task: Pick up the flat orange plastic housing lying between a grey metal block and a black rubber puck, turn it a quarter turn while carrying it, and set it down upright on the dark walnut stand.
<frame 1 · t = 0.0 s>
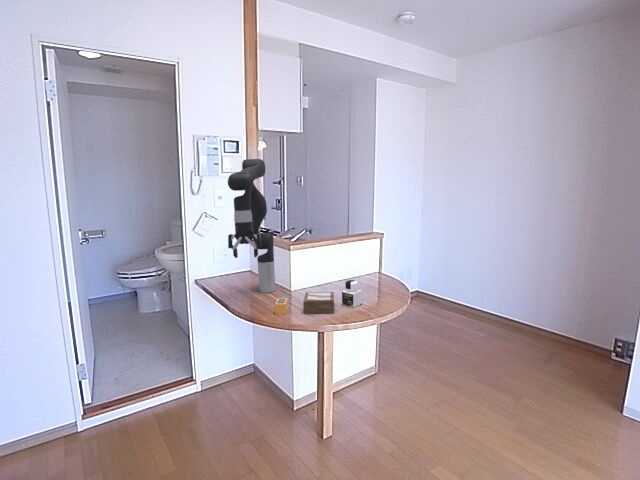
hand: (245, 257, 165), 29 cm above the breakfast counter, tool pointing down, fingers open, 8 cm apart
black rubber puck: (312, 301, 194), on the breakfast counter
housing: (282, 311, 181), on the breakfast counter
grey metal block: (285, 302, 193), on the breakfast counter
medicine bottle: (352, 304, 186), on the breakfast counter
stand: (319, 308, 182), on the breakfast counter
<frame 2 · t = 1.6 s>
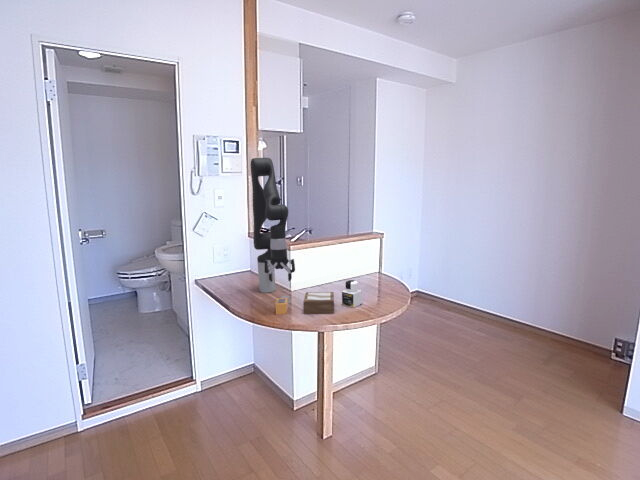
hand: (280, 281, 178), 15 cm above the breakfast counter, tool pointing down, fingers open, 8 cm apart
nothing on the breakfast counter moved.
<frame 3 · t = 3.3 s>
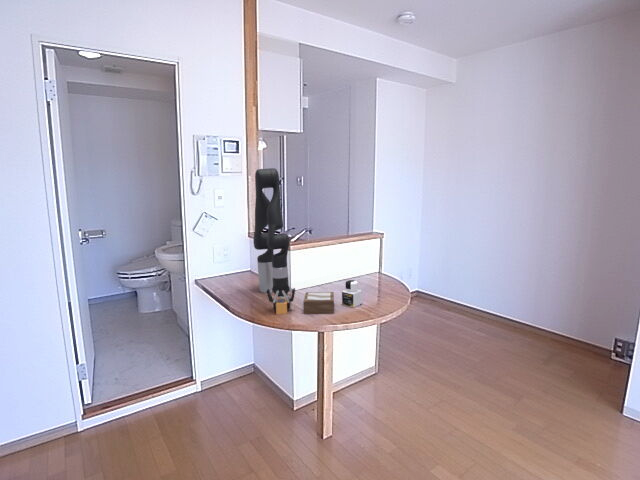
hand: (282, 309, 181), 1 cm above the breakfast counter, tool pointing down, fingers closed on housing, 5 cm apart
housing: (282, 310, 181), on the breakfast counter, touching gripper
everything else where it was.
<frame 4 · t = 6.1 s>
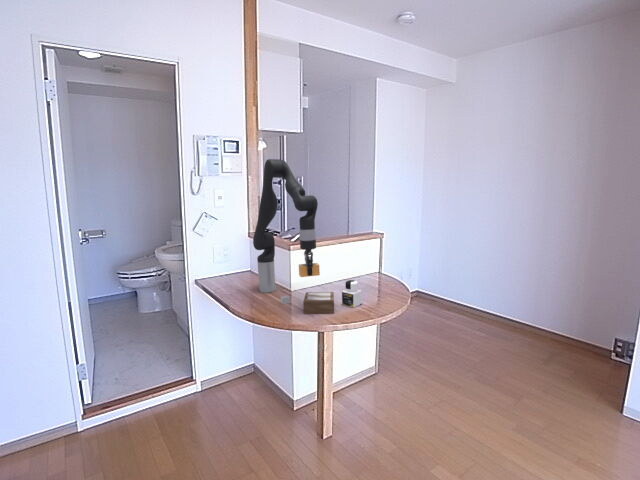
hand: (309, 273, 178), 18 cm above the breakfast counter, tool pointing down, fingers closed on housing, 5 cm apart
housing: (309, 275, 178), point 17 cm above the breakfast counter, touching gripper
everything else where it was.
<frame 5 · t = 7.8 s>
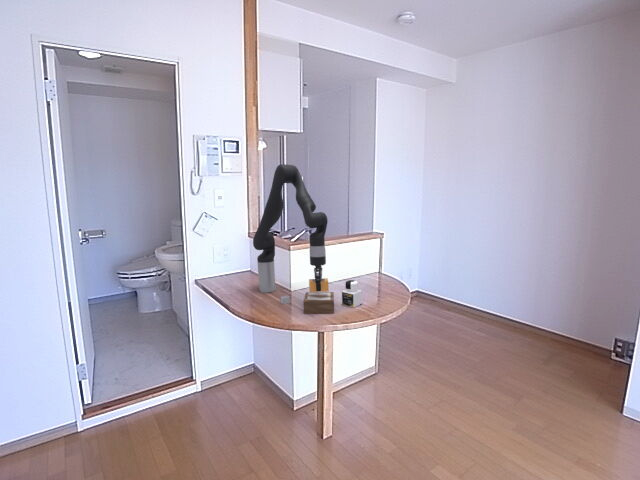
hand: (318, 289, 180), 10 cm above the breakfast counter, tool pointing down, fingers closed on housing, 5 cm apart
housing: (318, 290, 180), point 9 cm above the breakfast counter, touching gripper
everything else where it was.
when the fingers open (8 cm above the breakfast counter, at t = 9.1 s): housing stays where it is, resting on stand.
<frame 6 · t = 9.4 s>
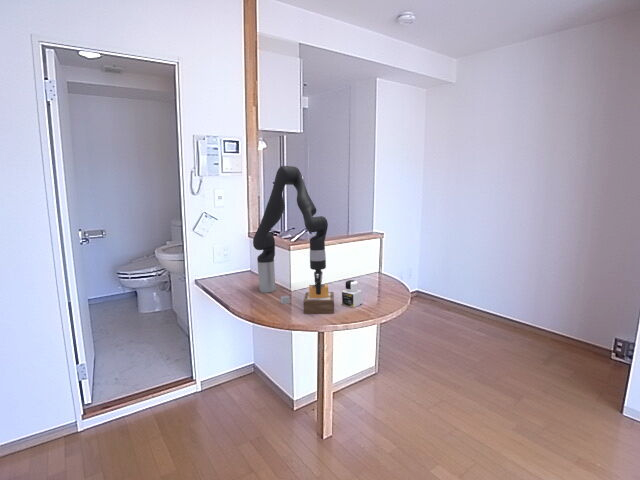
hand: (318, 291, 181), 9 cm above the breakfast counter, tool pointing down, fingers open, 8 cm apart
housing: (318, 296, 181), point 6 cm above the breakfast counter, touching stand
everything else where it was.
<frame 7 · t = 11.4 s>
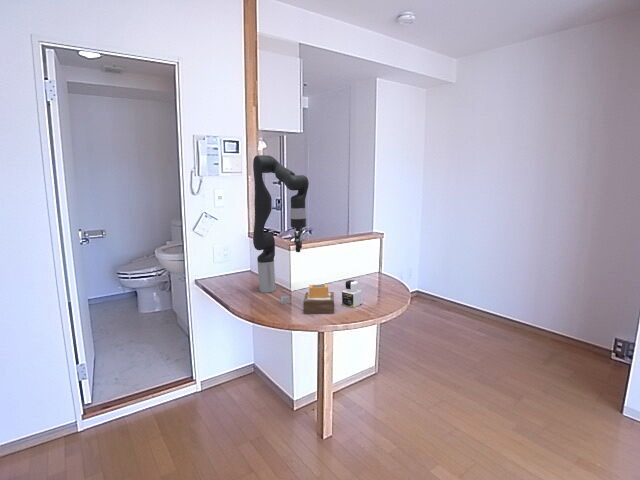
hand: (298, 250, 184), 28 cm above the breakfast counter, tool pointing down, fingers open, 8 cm apart
nothing on the breakfast counter moved.
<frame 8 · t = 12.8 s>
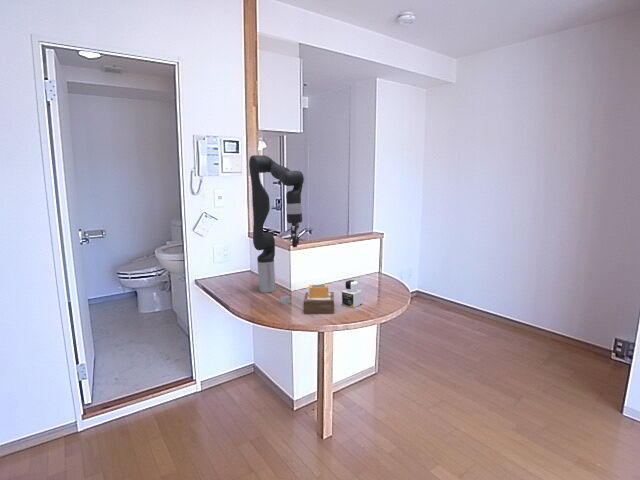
hand: (295, 245, 184), 30 cm above the breakfast counter, tool pointing down, fingers open, 8 cm apart
nothing on the breakfast counter moved.
at the end: housing inside the target area on the stand (0.1 cm from its centre), point 6.3 cm above the stand's base; housing tilted 0°; the gripper is holding nothing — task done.
